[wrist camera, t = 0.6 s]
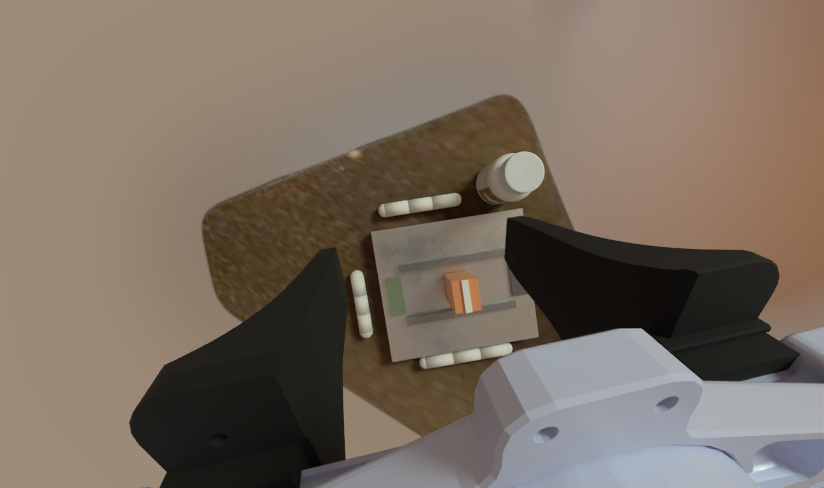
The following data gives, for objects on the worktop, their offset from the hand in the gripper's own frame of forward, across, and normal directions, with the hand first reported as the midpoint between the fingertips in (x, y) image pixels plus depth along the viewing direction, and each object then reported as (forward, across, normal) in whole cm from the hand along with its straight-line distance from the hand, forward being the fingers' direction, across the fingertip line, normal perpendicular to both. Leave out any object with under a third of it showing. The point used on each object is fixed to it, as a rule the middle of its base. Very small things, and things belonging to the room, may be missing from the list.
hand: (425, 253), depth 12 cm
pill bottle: (+19, -12, +5) cm, 23 cm away
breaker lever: (+14, -5, +13) cm, 20 cm away
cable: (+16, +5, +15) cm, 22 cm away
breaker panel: (+15, -5, +14) cm, 21 cm away
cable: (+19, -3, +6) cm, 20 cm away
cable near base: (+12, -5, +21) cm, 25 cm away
